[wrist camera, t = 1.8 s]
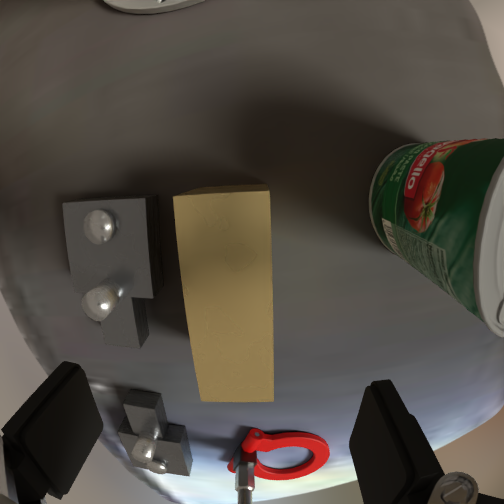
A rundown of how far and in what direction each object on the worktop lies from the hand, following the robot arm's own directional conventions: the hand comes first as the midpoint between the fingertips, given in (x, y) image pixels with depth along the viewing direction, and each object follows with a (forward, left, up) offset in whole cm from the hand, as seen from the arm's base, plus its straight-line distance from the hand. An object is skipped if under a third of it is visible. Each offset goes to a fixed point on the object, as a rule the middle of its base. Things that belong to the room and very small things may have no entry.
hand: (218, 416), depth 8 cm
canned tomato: (-6, +12, -12) cm, 18 cm away
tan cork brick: (-1, 0, -12) cm, 12 cm away
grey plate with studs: (+7, -8, -11) cm, 16 cm away
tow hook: (+18, +4, -12) cm, 22 cm away
